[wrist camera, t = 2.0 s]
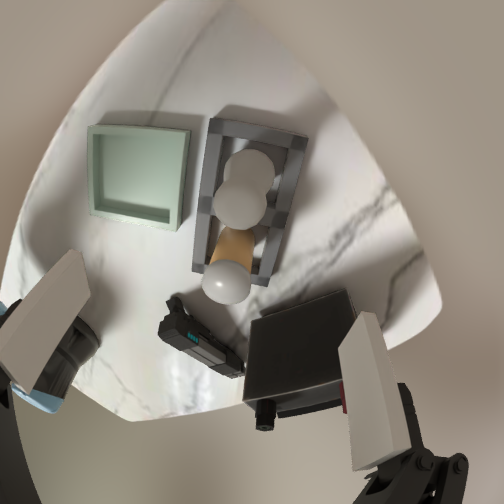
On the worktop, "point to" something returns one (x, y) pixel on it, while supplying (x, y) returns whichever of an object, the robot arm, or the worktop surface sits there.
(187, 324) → the gun
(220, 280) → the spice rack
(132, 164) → the tray
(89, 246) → the worktop surface
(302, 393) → the voltmeter
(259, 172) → the salt shaker
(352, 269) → the worktop surface
